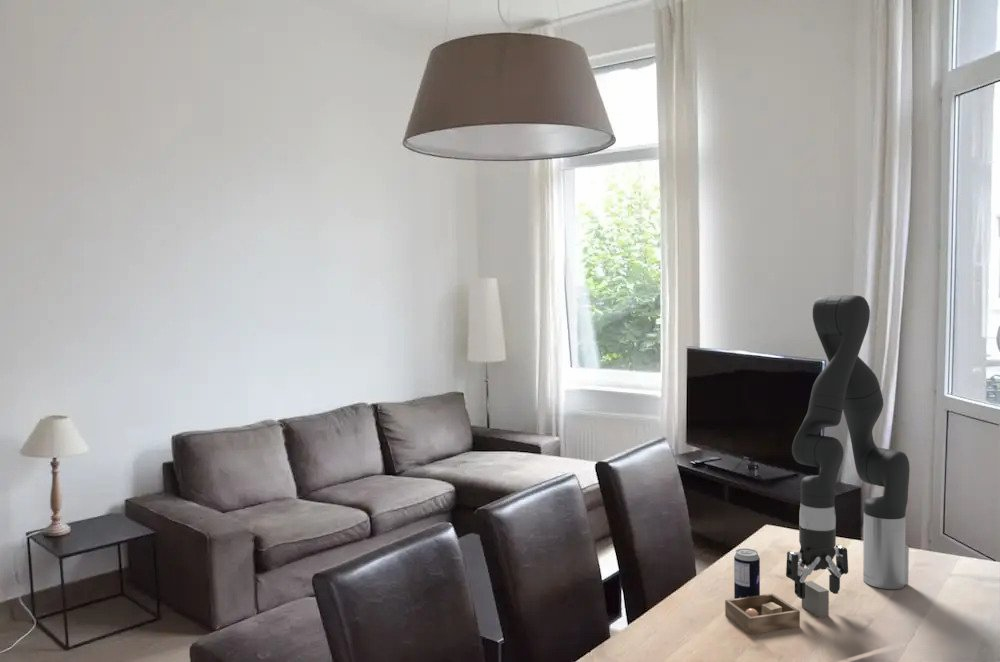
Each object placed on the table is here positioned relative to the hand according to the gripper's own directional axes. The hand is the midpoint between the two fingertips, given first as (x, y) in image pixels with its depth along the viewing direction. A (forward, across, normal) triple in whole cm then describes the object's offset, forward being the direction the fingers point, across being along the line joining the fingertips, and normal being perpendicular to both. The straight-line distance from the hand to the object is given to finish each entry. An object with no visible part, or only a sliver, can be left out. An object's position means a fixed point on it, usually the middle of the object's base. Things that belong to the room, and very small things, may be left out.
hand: (817, 595), depth 175 cm
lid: (+5, 0, -1) cm, 5 cm away
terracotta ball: (+3, +16, 0) cm, 17 cm away
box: (+5, +14, 0) cm, 15 cm away
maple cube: (+4, +12, 0) cm, 12 cm away
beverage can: (+5, +11, -11) cm, 16 cm away
